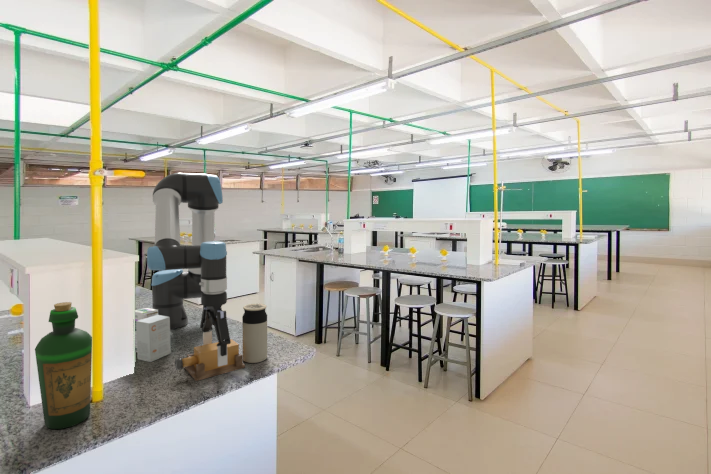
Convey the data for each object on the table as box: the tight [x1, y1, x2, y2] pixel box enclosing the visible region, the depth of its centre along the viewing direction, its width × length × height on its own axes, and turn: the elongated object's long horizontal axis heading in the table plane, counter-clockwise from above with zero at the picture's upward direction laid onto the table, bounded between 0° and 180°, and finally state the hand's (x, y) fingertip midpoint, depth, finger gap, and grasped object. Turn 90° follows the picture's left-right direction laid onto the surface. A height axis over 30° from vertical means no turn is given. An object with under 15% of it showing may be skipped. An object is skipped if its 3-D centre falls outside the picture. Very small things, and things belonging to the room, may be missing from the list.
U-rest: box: [184, 352, 246, 382], centre depth 118 cm, size 15×11×4 cm
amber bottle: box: [174, 338, 240, 371], centre depth 116 cm, size 18×6×6 cm, turn 129°
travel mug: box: [241, 302, 268, 364], centre depth 125 cm, size 8×8×18 cm
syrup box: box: [134, 307, 158, 353], centre depth 130 cm, size 6×6×14 cm
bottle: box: [34, 301, 93, 430], centre depth 87 cm, size 11×11×28 cm
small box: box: [136, 315, 172, 363], centre depth 125 cm, size 8×6×13 cm
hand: (214, 357), depth 118 cm, fingers open, 13 cm apart
